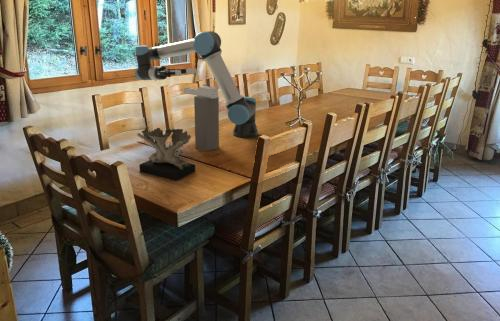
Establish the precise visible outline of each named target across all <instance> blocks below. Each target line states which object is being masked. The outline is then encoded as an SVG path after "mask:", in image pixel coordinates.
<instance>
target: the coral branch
mask: <svg viewBox="0 0 500 321" xmlns="http://www.w3.org/2000/svg"><path fill="white" fill-rule="evenodd" d="M171 146H172V142H169V144H168V145H166V147H168V148H169V147H171ZM180 148H181V147H179V148H177V149H176V150H175V152H174V155H175V156H177V157H179V156H180V155H181V153H182V154H183V153H184V152H183V151H181V149H180Z"/></svg>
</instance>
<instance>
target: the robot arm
mask: <svg viewBox="0 0 500 321" xmlns="http://www.w3.org/2000/svg"><path fill="white" fill-rule="evenodd" d="M221 46H222V39H221V36H220V35H219V34H218V33H217V32H215V31H212V30H210V31H201V32H199V33H197V34H196V35H195V36H194V38H191V39H186V40H182V41H178V42H172V43H168V44H167V43H166V44H163V45H158V46H153V47H149V46H148V45H137V46H135V48H134V52H135V56H136V57H135V58H136V62H137V63H136V64H137V67H136V68H135V70H134V76H135V78H136V79H137V80H139V81H155V82H157V81H162V80H163V81H164V80H166V79H167V78H171V77H174V76H175V77H176V76H177V77H179V76H182V75H183V74H197V67H193V68H188V67H187V66H186V68H178V69H176V68H167V67H166V66H164V65H160V66H157V65H155V66H153V65H152V61H153V62H154V61H158V60H163V59H168V58H172V57H173V58H174V57H177V56H178V57H179V56H183V55H184V56H185V55H188V54H194V53H197V54H198V55H199V56H200V57H201V59H202V61H203V62H205V63H206V64H207V65H208V67H209V69H210V71H211V74H212V76H213V77H214V80H215V82H216V83H217V86H218V87H219V88H218V89H220V92H221V93H222V95H223V98H224V100H225V101H226V102H225V104H224V105H225V108H226V110H227V117H228V120H229V121H230V122H231V123H232V124H234V127H233V130H232V135H233V136H235V137H236V138H245V139H246V138H248V139H249V138H254V137H255V138H256V137H257V136H258V135H259V130H258V126H257V124H256V115H257V114H256V112H257V110H256V109H257V99H256V97H252V96H244V95H241V94H240V92H239V90H238V87H237V85H236V84H235V82H234V79H233V78H232V75H231V73H230V72H229V69H228V68H227V65H226V63H225V61H224V59H223V56H222V48H221Z"/></svg>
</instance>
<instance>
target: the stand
mask: <svg viewBox="0 0 500 321" xmlns="http://www.w3.org/2000/svg"><path fill="white" fill-rule="evenodd" d="M193 97H194V98H193V100H194V101H193V102H194V104H193V105H194V107H193V108H194V141H195V142H194V146H195V149H197V150H198V149H199V150H202V151H205V152H209V151H213V150H215V149H218V148H220V141H219V140H220V131H219V130H220V127H219V126H220V124H219V123H220V117H219V116H220V115H219V114H220V112H219V110H220V109H219V108H220V107H219V106H220V105H219V102H220V100H219V99H220V96H218V98H214V99H209V98H204V97H199V96H196V95H194V96H193Z"/></svg>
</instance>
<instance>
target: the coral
mask: <svg viewBox="0 0 500 321" xmlns="http://www.w3.org/2000/svg"><path fill="white" fill-rule="evenodd" d="M163 130H164V129H161V128H160V127H157V128H155V129H153V130H152V131H151V130H150V131H148V132H147V130H146V129H144V130H141V133H142V134H141V133H140V132H138V133H137V134H136V135H137V136H138V137H139V138H140V139H142V140H144V141H145V142H147V143H149V144H150V145H151V146H152V147H153V148H154V149H155V152H154V153H152V154H151V156H149V157H148V160H147V161H145V162H142V163H140V164H139V165H138V166H139V167H138V168H139V173H142V174H146V175H149V176H154V177H158V178H163V179H166V180H170V181H174V182H178V181H180V180H183V179H184V178H186V177H187V176H190V175H192V174H194V173H196V165H195V164H194V163H190V162H186V160H184V159H181V158H180V157H179V156H178V157H177V156H175V155H174V152H175V150H176V149H177V148H181V147H183V146H184V145H186V144H187V143H189V141H190V140H191V139H192V136H191V135H190V134H188V130H185V131H184V129H183V128H176V129H175V128H173V129H171V128H170V129H167V128H166V129H165V130H164V131H163ZM183 131H184V132H183ZM170 135H171V144H172V146H171V147H169V148H168V147H167V144H166V142H167V140H168V138H169V137H170Z"/></svg>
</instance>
